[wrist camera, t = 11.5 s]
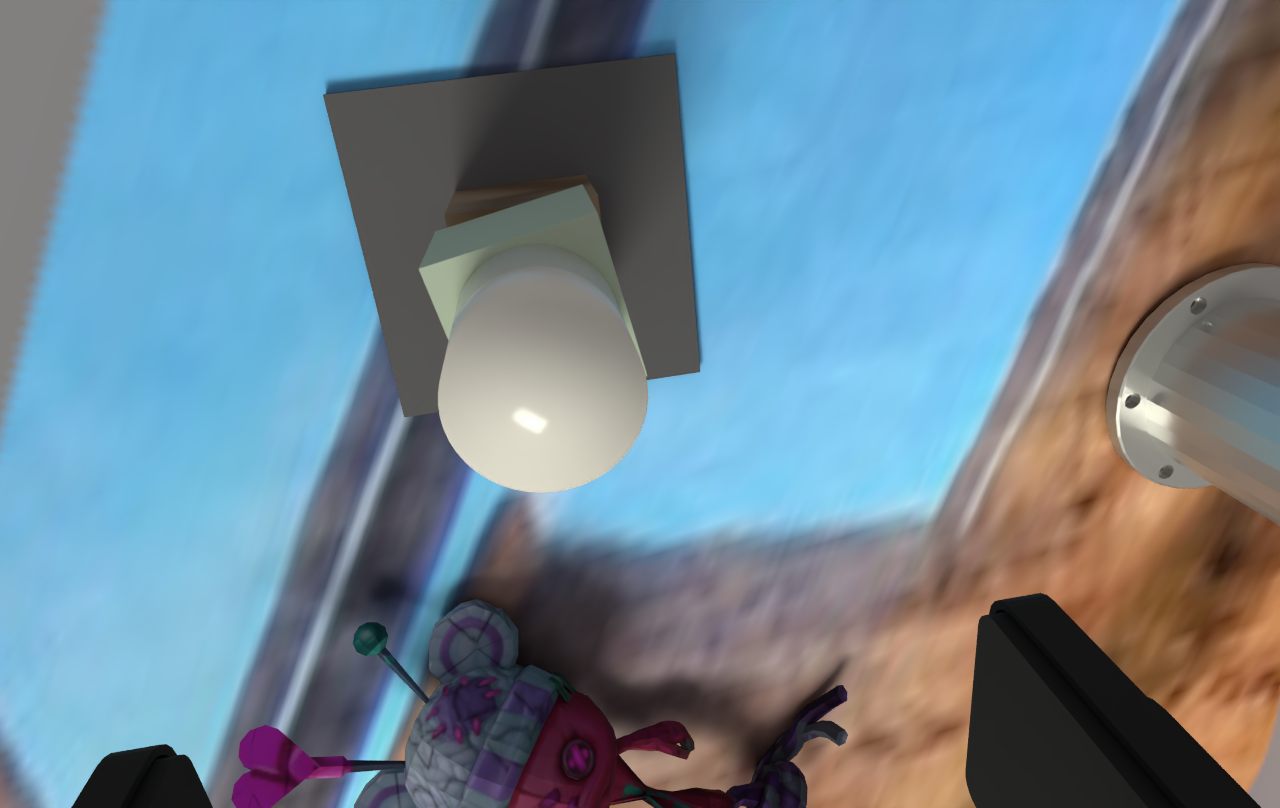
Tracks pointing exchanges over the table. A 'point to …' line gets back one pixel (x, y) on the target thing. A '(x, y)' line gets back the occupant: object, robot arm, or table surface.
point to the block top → (534, 222)
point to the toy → (516, 738)
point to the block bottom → (510, 197)
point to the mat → (514, 153)
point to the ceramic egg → (540, 372)
